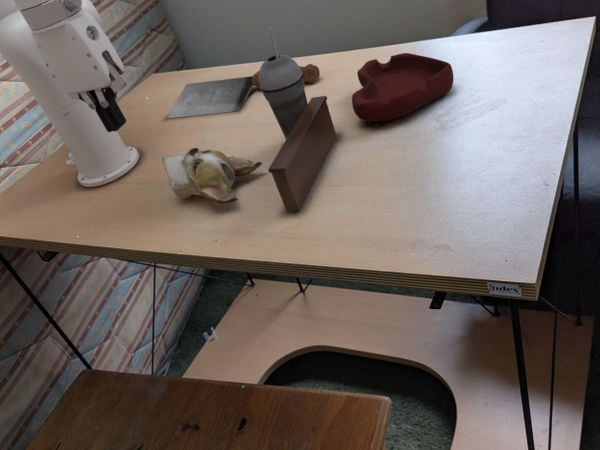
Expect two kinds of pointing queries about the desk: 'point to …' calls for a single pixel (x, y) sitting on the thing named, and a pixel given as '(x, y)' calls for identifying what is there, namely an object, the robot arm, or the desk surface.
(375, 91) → the ashtray
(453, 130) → the desk surface
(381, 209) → the desk surface
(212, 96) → the meat cleaver
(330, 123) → the backboard
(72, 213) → the desk surface
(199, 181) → the ceramic sculpture
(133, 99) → the desk surface
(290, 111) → the beverage cup
